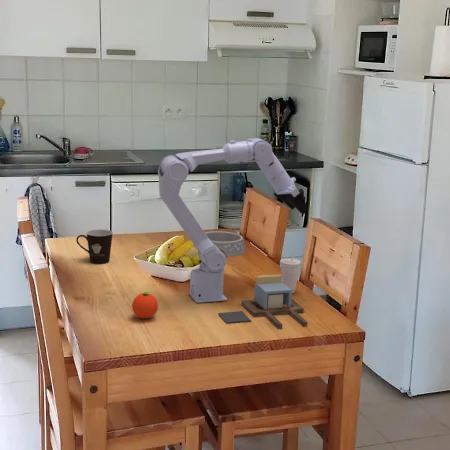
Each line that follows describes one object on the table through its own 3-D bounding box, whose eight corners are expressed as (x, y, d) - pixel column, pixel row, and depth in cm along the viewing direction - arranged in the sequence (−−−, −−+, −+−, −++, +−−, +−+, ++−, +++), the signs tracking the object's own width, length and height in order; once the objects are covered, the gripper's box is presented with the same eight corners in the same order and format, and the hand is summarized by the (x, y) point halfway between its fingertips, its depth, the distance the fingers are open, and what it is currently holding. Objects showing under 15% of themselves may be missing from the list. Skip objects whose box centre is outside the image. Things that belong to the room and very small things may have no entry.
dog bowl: (199, 242, 267) (200, 228, 266) (247, 246, 265) (248, 232, 264) (191, 254, 251) (192, 240, 250) (242, 258, 249) (243, 244, 247)
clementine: (134, 311, 195) (135, 286, 193) (159, 312, 195) (160, 288, 193) (130, 322, 187) (130, 296, 185) (156, 323, 187) (156, 298, 185)
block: (267, 312, 198) (268, 295, 197) (261, 306, 202) (262, 290, 201) (282, 310, 200) (283, 294, 198) (276, 305, 204) (277, 289, 203)
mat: (226, 323, 188) (226, 322, 188) (218, 314, 195) (218, 312, 195) (250, 321, 191) (250, 320, 191) (242, 312, 197) (242, 310, 197)
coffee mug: (117, 260, 239) (118, 232, 237) (100, 266, 232) (100, 237, 230) (92, 254, 245) (92, 226, 243) (74, 260, 238) (74, 231, 236)
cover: (264, 309, 196) (265, 284, 194) (254, 299, 203) (255, 276, 201) (290, 307, 198) (292, 283, 197) (279, 297, 206) (281, 274, 204)
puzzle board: (266, 330, 185) (266, 325, 185) (241, 304, 203) (241, 300, 203) (318, 325, 190) (318, 320, 190) (289, 300, 208) (289, 296, 208)
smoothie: (297, 295, 212) (300, 251, 209) (276, 293, 213) (279, 249, 210) (299, 289, 218) (303, 245, 215) (279, 287, 220) (282, 243, 216)
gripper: (296, 169, 198) (320, 206, 203) (276, 162, 211) (300, 197, 216) (277, 184, 197) (302, 221, 202) (258, 176, 210) (282, 211, 215)
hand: (299, 209), depth 209 cm, fingers open, 7 cm apart
